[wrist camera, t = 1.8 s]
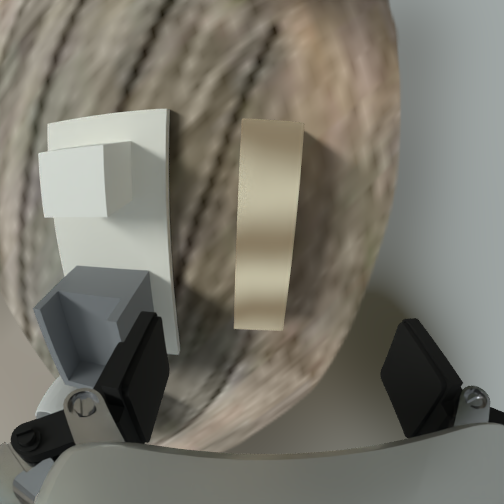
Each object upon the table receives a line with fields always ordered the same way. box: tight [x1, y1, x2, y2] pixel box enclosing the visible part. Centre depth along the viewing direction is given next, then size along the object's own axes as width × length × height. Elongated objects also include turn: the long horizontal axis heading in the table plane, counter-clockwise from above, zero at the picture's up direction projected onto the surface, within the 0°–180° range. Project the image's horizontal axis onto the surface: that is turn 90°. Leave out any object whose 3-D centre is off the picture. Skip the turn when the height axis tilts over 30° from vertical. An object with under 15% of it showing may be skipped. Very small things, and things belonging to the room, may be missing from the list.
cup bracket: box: [33, 109, 180, 389], centre depth 22 cm, size 24×12×9 cm, turn 177°
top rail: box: [234, 118, 304, 331], centre depth 23 cm, size 16×4×5 cm, turn 177°
